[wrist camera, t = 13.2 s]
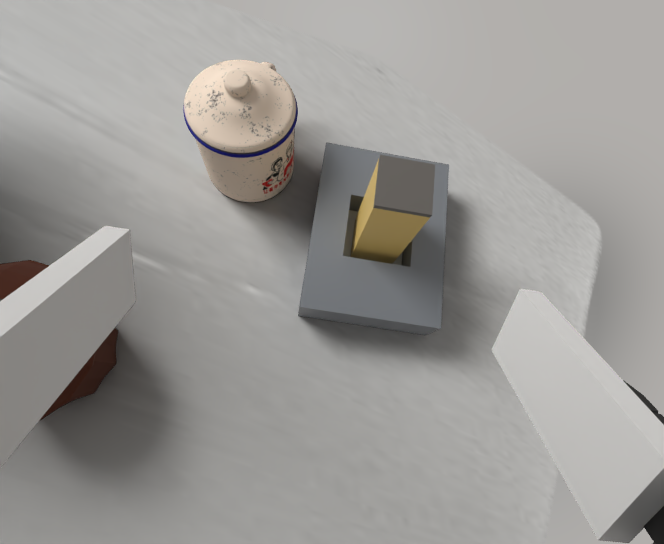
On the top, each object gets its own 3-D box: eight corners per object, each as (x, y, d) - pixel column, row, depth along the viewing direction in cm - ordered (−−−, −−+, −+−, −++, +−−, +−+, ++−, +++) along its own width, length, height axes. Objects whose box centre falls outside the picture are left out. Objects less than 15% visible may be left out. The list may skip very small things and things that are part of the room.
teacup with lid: (281, 217, 38) (277, 145, 27) (191, 191, 38) (151, 109, 27) (313, 120, 42) (322, 23, 31) (232, 96, 42) (212, -10, 31)
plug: (350, 258, 36) (374, 205, 26) (355, 220, 38) (380, 154, 27) (391, 265, 37) (432, 215, 26) (395, 226, 38) (435, 164, 27)
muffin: (151, 389, 32) (93, 390, 23) (7, 451, 30) (-123, 480, 20) (111, 265, 35) (45, 219, 25) (-24, 312, 33) (-152, 281, 23)
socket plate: (298, 315, 35) (299, 306, 32) (322, 165, 40) (326, 142, 36) (425, 335, 36) (441, 328, 32) (434, 185, 41) (448, 164, 37)
